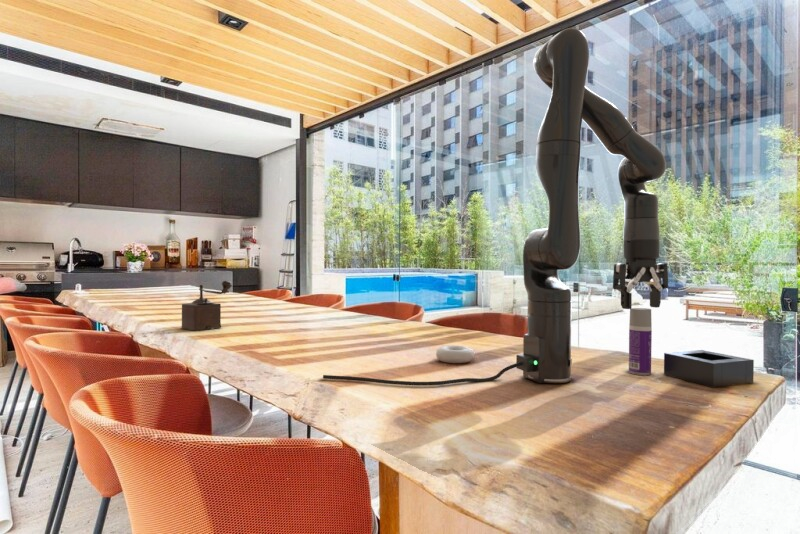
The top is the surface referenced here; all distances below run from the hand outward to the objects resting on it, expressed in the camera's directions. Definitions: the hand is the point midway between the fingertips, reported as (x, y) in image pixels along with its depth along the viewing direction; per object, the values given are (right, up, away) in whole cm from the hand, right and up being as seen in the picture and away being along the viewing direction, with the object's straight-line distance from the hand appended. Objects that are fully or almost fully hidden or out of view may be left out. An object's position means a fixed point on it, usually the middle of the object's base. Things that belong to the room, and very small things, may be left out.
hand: (640, 308), depth 112 cm
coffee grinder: (-130, -14, +71) cm, 148 cm away
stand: (+12, -15, -5) cm, 20 cm away
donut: (-42, -15, +13) cm, 46 cm away
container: (0, -15, 0) cm, 15 cm away
